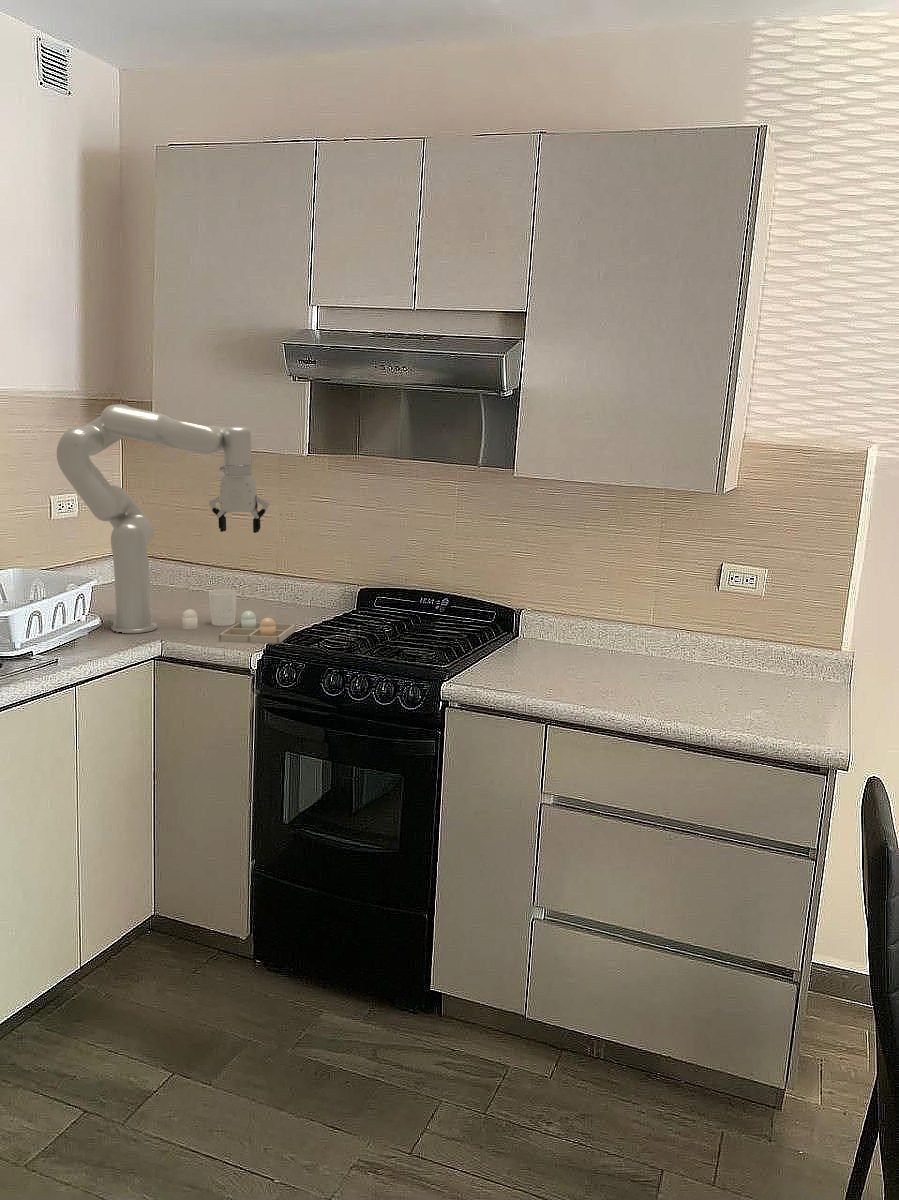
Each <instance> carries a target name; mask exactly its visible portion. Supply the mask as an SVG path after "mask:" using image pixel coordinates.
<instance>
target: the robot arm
mask: <svg viewBox="0 0 899 1200" xmlns="http://www.w3.org/2000/svg"><path fill="white" fill-rule="evenodd" d="M124 438H126V439H132V440H136V441H141V442H145V443H151V444H153V445H159V446H165V447H170V448H174V449H179V450H182V451H184V450H185V451H188V452H192V453H198V454H204V455H209V454H213V453H218V452H223V458H224V459H223V461H224V464H223V466H219V472H222V473H223V475H221V479H220V484H219V495H218V497H216V498H213V499H211V500H210V501H208V505H209V506H210V508H211V511H212V512H213V514H215V515H216V517H217V519H218V529H220V531H219V532H220V533H223V532H226V531H227V517H226V514H227V513H228V512H229V513H250V514H251V515H252V516H253V517H254V518H252V533H254V534H256V533H259V532H260V530H261V518H262V517H263V516H264V515H265V514H266V512H267V510H268V509H269V506H270V502H269V501H266V500H264V499H263V498H261V497H259V496H258V489H257V484H256V478H255V476H254V475H253V470H252V434H251V429H250V428H249V427H246V426H227V427H225V426H218V425H202V424H196V423H190V422H186V421H182V420H178V419H175V418H172V417H169V416H168V415H166V414H163V413H161V412H155V411H150V410H146V409H139V408H136V407H131V406H129V405H127V404H121V403H120V404H119V403H118V404H110V405H107V406H106V407H105V408H104V409H103V410H102V411H101V414H100V416H98V417H96V418H95V419H94V420H92V421H89V422H88V423H87V424H85V425H78V426H74V427H71V428H68V429H67V430H66V431H65V432H64V433H63V434H62V435H61V437H60V439H59V441H58V444H57V448H56V459H57V463H58V466H59V469H60V470H61V472H62V474H63V475H64V477H65V478H66V480H67V481H68V482H69V484H70V485H71V486H72V487H73V489H74V490H75V492H76V493H77V494H78V496H79V497H80V498H81V499H82V501H83V502H84V504H85V505H86V506H87V507H88V508H87V509H89V510H90V512H91V513H92V515H93V516H94V518H97V520H99V521H102V522H109V523H110V525H111V526H112V527H113V530H112V531H111V535H110V546H111V547H110V548H111V553H112V561H113V562H112V563H113V574H114V575H113V576H114V592H115V597H114V598H115V613H114V614H112V613H105V614H104V615H103V621H104V623H105V622H106V623H109V622H110V623H112V625H111V626H110V627H111V629H112V630H113V631H112V630H111V631H112V632H114V631H116V632H115V633H118V632H122V633H121V634H141V633H147V632H153V631H155V630H156V629H158V623H156V622H154V621H152V610H151V608H152V606H151V585H150V583H151V581H150V566H149V555H148V547H147V546H148V545H150V544H151V542H152V540H153V538H154V533H155V532H154V527H153V525H152V523H151V521H150V520H149V518H148V517H147V516H146V514H145V513H144V512H143V510H142V509H141V508H140V506H139V505H138V503H136V501H135V500H134V498H133V497H132V496H131V494H130V493H128V492H127V490H125V489H124V488H123V487H121V486H118V485H111V484H110V482H109V481H108V480H107V479H106V477H105V476H104V475H103V473H102V472H101V470H100V469H99V468H98V467H97V466H96V465H95V464H94V463H93V462H92V460H91V456H95V455H98V454H99V453H101V452H103V451H105V450H106V449H108V448H109V447H111V446H112V445H114V444H115V443H117V442H120V441H121V440H122V439H124ZM218 503H219V505H218V506H219V508H218V507H217V504H218ZM259 505H261V506H262V507H261V509H260V510H258V507H259Z"/></svg>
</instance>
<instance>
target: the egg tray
mask: <svg viewBox="0 0 899 1200" xmlns="http://www.w3.org/2000/svg"><path fill="white" fill-rule="evenodd" d="M260 623H261V622H256V629H243V628H241V621H238V622H237V623H236V622H235V624H233V625H231V626H230V627H229V628H226V629H224V631H222V632H221V633H219V634H218V642H228V643H249V644H271V645H272V644H274V645H280V644H281V643H282V642H283V641H284V640H286V639H287V638H288V637H290V636H291V635H292V634H294V633H295V632H296V631H297V624H296V623H276V622H275V624H276V637H274V636H260Z"/></svg>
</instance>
